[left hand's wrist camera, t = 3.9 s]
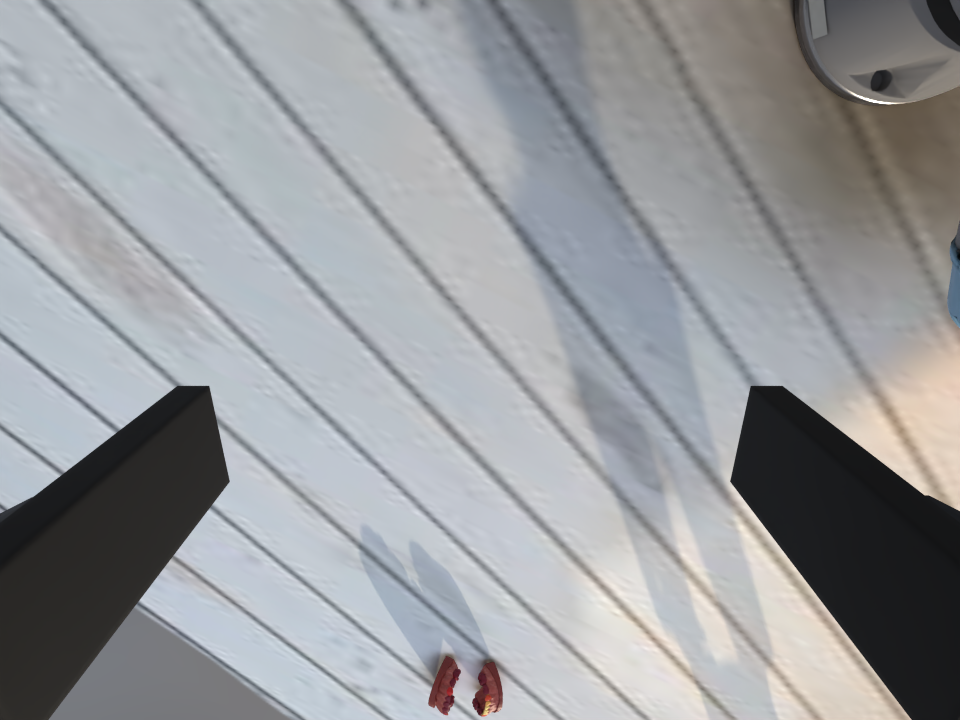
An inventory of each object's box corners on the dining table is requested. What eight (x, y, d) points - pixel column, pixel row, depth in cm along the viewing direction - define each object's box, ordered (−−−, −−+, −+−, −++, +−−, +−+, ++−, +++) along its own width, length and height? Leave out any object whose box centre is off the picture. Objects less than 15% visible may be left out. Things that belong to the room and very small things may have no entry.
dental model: (497, 733, 56) (424, 724, 56) (496, 696, 60) (428, 687, 60) (507, 696, 54) (432, 686, 54) (505, 661, 58) (435, 651, 58)
